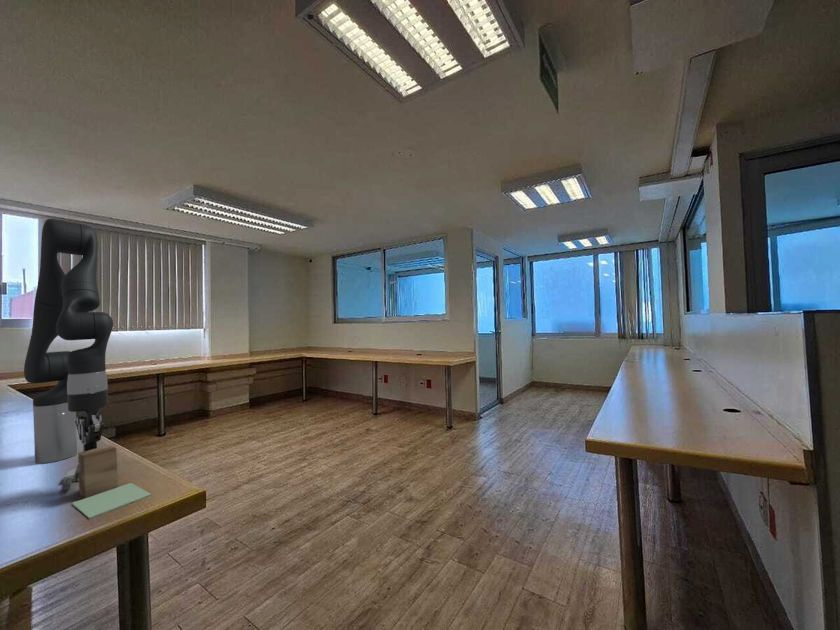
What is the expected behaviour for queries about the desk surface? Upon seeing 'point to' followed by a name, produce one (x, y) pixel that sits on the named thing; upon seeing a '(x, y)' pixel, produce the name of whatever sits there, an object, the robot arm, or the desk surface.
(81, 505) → the mat
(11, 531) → the desk surface
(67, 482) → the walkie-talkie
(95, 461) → the brown teal box
